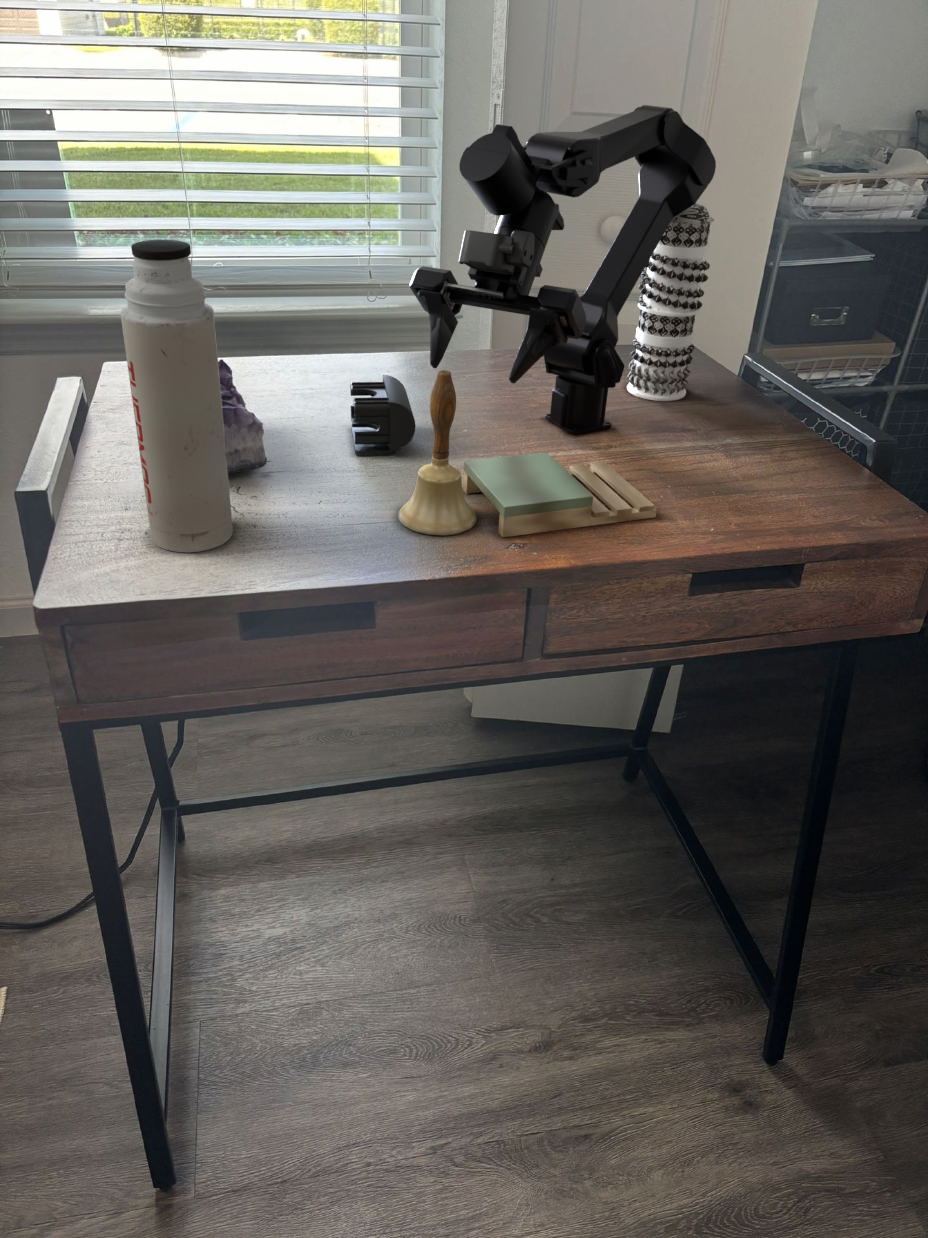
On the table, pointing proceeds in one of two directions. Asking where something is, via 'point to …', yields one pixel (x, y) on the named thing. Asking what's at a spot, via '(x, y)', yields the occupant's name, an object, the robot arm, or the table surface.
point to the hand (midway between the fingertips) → (471, 373)
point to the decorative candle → (670, 308)
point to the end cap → (381, 417)
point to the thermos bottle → (176, 399)
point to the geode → (239, 427)
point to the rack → (552, 493)
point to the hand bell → (439, 475)
